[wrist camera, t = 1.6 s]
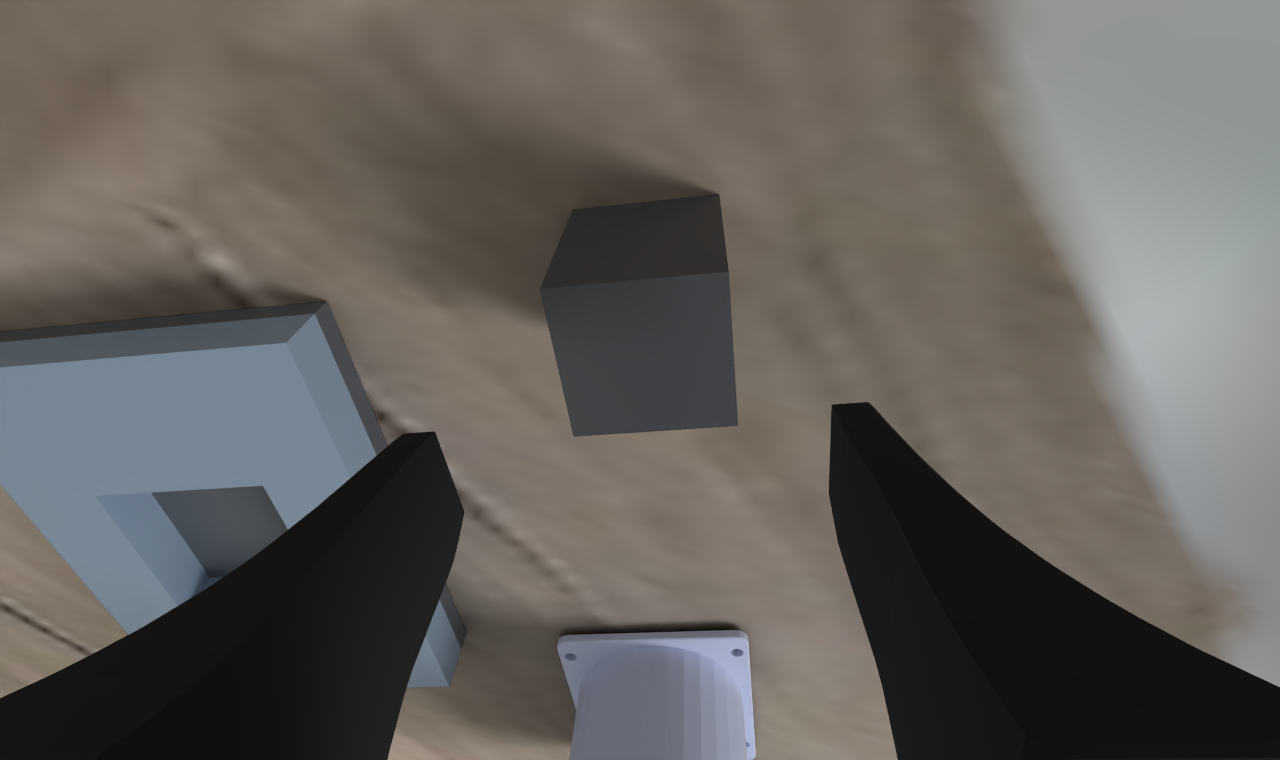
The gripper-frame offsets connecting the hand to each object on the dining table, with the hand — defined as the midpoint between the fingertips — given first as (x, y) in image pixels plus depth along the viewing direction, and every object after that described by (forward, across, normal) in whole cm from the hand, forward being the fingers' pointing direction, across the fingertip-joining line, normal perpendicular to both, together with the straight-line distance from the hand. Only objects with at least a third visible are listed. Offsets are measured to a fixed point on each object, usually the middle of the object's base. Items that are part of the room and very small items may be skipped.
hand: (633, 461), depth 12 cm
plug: (+8, 0, 0) cm, 8 cm away
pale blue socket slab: (+8, +16, +8) cm, 20 cm away
